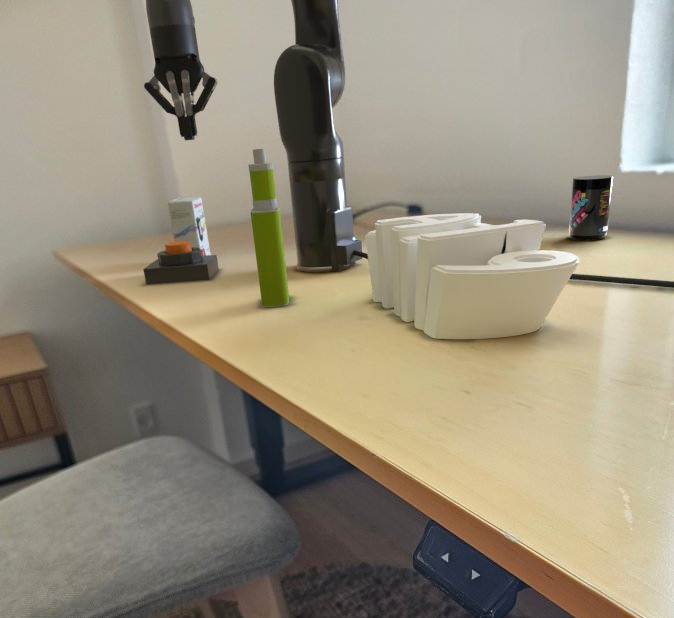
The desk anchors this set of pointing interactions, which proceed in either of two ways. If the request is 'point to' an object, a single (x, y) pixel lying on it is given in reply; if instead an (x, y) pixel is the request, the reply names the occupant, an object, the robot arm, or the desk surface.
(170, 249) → the power button
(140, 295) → the desk surface
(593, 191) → the supplement container
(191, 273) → the push button base
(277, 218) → the vape
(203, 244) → the ink box
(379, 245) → the white wavy slab sculpture
